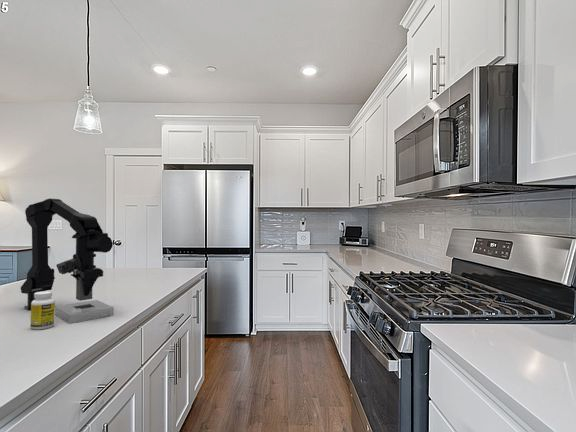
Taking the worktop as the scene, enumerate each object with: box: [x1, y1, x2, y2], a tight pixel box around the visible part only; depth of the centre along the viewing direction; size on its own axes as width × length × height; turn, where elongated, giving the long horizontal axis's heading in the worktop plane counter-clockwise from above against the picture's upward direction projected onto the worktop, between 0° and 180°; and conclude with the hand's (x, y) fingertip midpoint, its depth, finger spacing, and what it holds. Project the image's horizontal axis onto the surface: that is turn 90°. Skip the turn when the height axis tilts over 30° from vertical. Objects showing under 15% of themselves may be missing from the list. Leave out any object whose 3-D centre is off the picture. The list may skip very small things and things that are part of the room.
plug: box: [75, 279, 93, 302], centre depth 127 cm, size 4×4×7 cm
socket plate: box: [54, 299, 114, 325], centre depth 127 cm, size 16×14×4 cm
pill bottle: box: [30, 290, 56, 331], centre depth 113 cm, size 6×6×11 cm
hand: (84, 294), depth 127 cm, fingers closed on plug, 4 cm apart
